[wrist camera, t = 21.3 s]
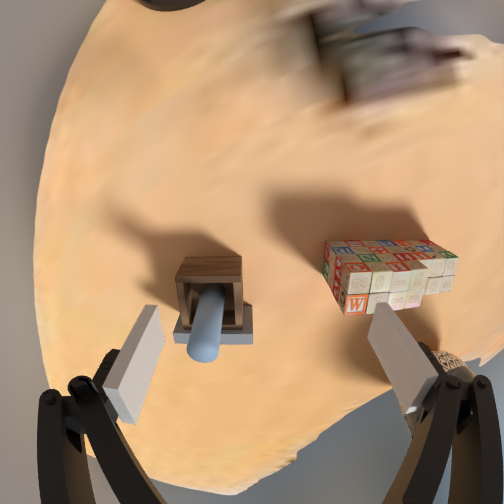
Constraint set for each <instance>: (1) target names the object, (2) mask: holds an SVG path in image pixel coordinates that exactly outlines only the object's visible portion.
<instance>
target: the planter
mask: <svg viewBox="0 0 504 504" xmlns="http://www.w3.org/2000/svg"><path fill="white" fill-rule="evenodd" d="M432 354H434V356H435V357H436V359H437V360H438V361H439V363H440V364H441V366H442V367H443V369H444V370H445V372H446V373H447V374H448V375H452V376H455V377H457V378H458V379H460V381H461V382H472V380H473V379H474V377H475V376H476V375H475V374H474V373H473V372H472V371H471V370H470V369H469V368H468V367H467V365H466V364H465V363H464V362H463V361H462V360H461V359H460V358H458V357H457V356H456V355H454V354H452V353H450V352H447V351H440V350H438V351H432ZM399 404H400V402H399ZM400 408H401V410H402V413H403V416H404V419H405V421H406V424H407V427H408V429H409V431H410V434H411V437H412V438H413V436H414V433H415V430H416V428H417V425H418V422H419V420H418V421H416V419H417V418H418V416H419V415H420V414H421V412H422V411H423V409H424V407H423V405H422V404H421V405H420V407H419V408H418V410H417V411H414V412H411V413H407V414H405V412H404V410H403V408H402V406H401V404H400ZM419 419H420V418H419Z"/></svg>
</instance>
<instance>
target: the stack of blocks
mask: <svg viewBox="0 0 504 504" xmlns="http://www.w3.org/2000/svg"><path fill="white" fill-rule="evenodd" d="M324 258H325V261H324V272H323V276H324V278H325V280H326V282H327V283H328V285H329V287H330V289H331V291H332V293H333V296H334V297H335V300H336V301H337V303H338V304H339V306H340V308H341V310H342V312H343V314H344V315H355V314H364V313H366V314H372V313H374V311H375V307H376V303H380V302H387V303H388V304H389V305H390V307H391V308H392V309H393V311H395V310H401V309H406V308H413V307H419V306H420V303H421V300H422V296H423V295H430V294H437V293H441V292H448V291H451V288H452V284H453V281H454V277H455V272H456V268H457V264H458V259H459V257H457V256H456V255H454V254H453V253H451V252H449V251H447V250H445V249H444V248H442V247H440V246H438V245H437V244H435V243H433V242H432V241H430V240H428V241H418V240H391V241H326V243H325V257H324Z"/></svg>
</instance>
